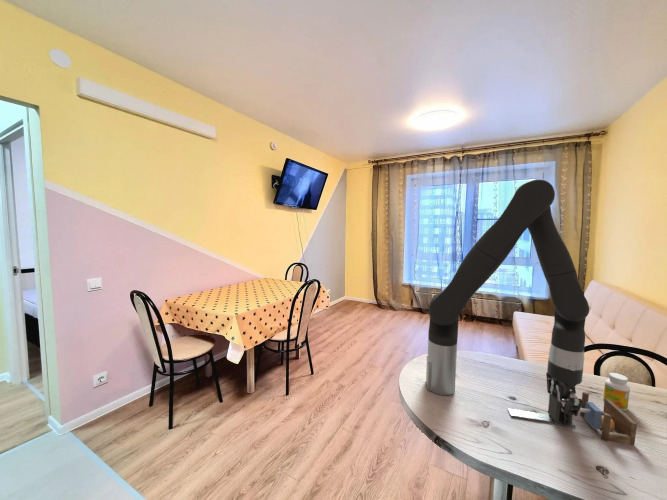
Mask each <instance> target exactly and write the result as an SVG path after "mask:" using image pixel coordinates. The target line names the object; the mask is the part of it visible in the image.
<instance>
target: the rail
mask: <svg viewBox="0 0 667 500" xmlns="http://www.w3.org/2000/svg"><path fill="white" fill-rule="evenodd" d="M507 412H508V414H509V416H510V418H515V419H522V420H526V421H527V420H528V421H534V422H541V423H547V424H551V425H559V426H565V427H572V428H576V427H577V426H576V425H577V424H575V422H574V421H573V420H572V425H566V424H561V423H557V422H555V421H554V420H553V419H552V417H551V416H550V415H549V413H548V414H547V413H540V412H534V411H527V410H522V409H513V408H507Z"/></svg>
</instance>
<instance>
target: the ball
mask: <svg viewBox="0 0 667 500" xmlns="http://www.w3.org/2000/svg"><path fill="white" fill-rule="evenodd" d="M603 417H604V416H602V420H601V428H602V425H603ZM614 428H615V423H614V421H613V420H612V419H611V424H610V431H613V430H615V429H614Z"/></svg>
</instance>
